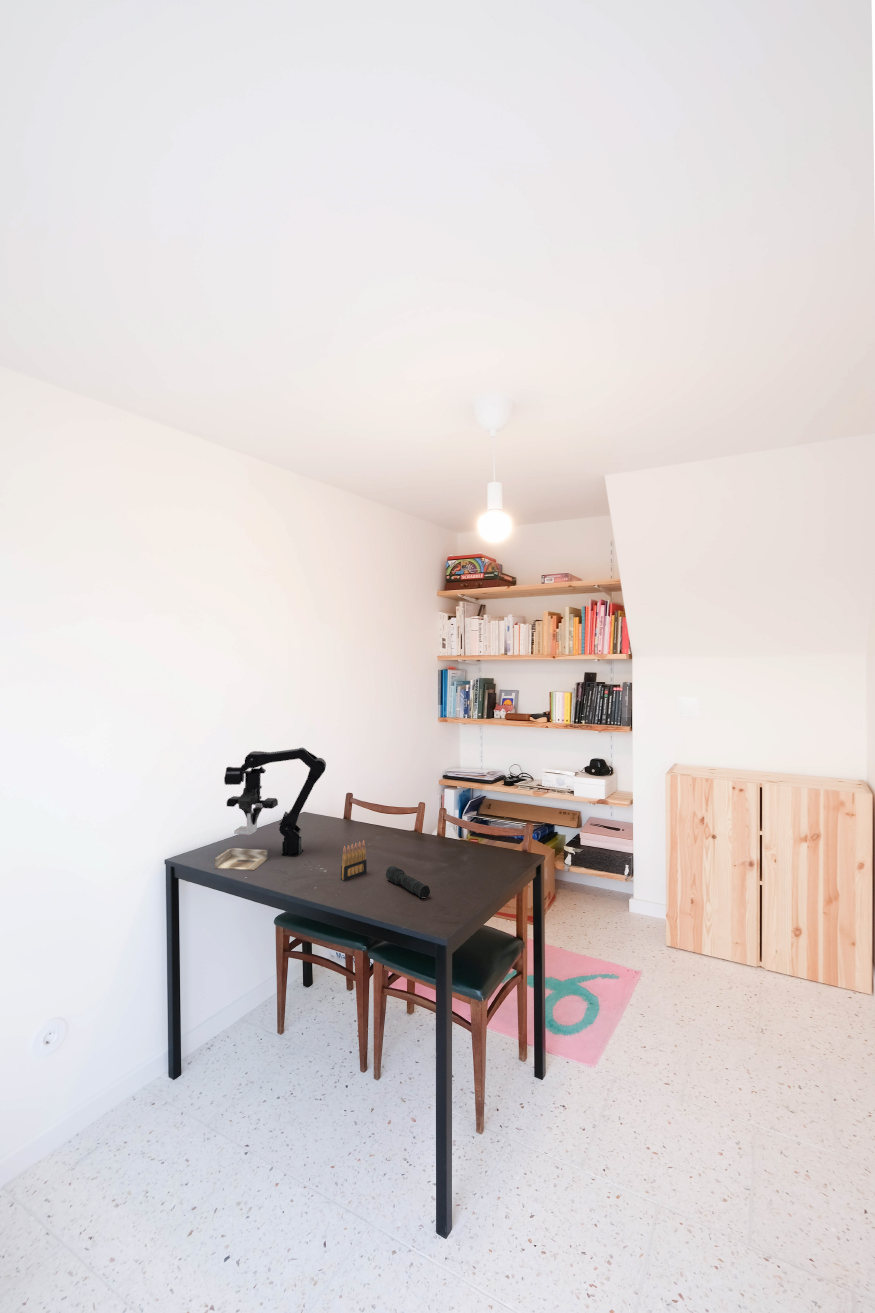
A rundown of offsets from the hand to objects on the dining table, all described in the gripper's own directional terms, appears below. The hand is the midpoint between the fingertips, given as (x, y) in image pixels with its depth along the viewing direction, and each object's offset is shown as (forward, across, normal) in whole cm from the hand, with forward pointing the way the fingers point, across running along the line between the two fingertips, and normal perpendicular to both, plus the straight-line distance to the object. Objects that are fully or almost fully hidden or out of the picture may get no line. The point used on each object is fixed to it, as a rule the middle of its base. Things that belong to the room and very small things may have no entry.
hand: (251, 824), depth 229 cm
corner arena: (+12, +1, -10) cm, 16 cm away
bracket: (+3, -2, 0) cm, 4 cm away
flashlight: (+12, +66, -24) cm, 71 cm away
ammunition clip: (+12, +45, -16) cm, 49 cm away
